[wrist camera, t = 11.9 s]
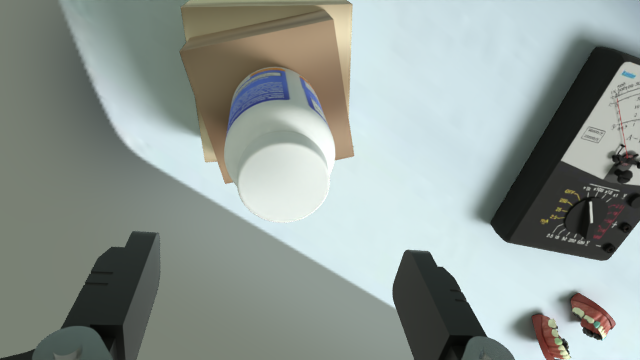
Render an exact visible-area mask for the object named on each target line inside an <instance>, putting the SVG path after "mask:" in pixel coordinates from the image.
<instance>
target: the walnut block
mask: <svg viewBox="0 0 640 360" xmlns="http://www.w3.org/2000/svg"><path fill="white" fill-rule="evenodd" d="M179 52H180V55H181V58H182V61H183V64H184V67H185V69H186V72H187V75H188V78H189V81H190V84H191V87H192V90H193V92H194V95H195V98H196V101H197V104H198V107H199V110H200V113H201V116H202V118H203V121H204V124H205V127H206V130H207V133H208V136H209V139H210V141H211V144H212V147H213V150H214V153H215V156H216V159H217V162H218V164H219V167H220V170H221V173H222V176H223V179H224V182H225V184H227V183H232V182H233V181H232V179H231V177H230V176H229V173H228V171H227V168H226V165H225V159H224V148H225V140H226V134H227V128H228V122H229V115H230V109H231V103H232V99H233V96H234V93H235V91H236V89H237V87H238V86H239V84H240V83H241V82H242V81H243V80H244V79H245V78H246V77H247V76H248V75H250V74H251V73H253V72H255V71H257V70H260V69H263V68H267V67H282V68H286V69H290V70H292V71H294V72H296V73H298V74H299V75H301V76H302V77H303V78H304V79H306V80H307V81H308V83H309V84H310V85H311V86H312V88H313V89H314V91H315V93H316V95H317V97H318V100H319V103H320V105H321V108H322V111H323V113H324V116H325V118H326V121H327V123H328V126H329V128H330V131H331V134H332V137H333V140H334V145H335V160H339V159H343V158H348V157H353V156H354V151H353V145H352V138H351V131H350V125H349V118H348V112H347V105H346V98H345V92H344V85H343V79H342V72H341V65H340V59H339V52H338V46H337V39H336V32H335V26H334V19H333V18H332V17H331V16H330V15H329V14H328V13H327V12H326V11H325V9H324V10H320V11H315V12H310V13H305V14H301V15H296V16H291V17H286V18H281V19H277V20H272V21H267V22H262V23H258V24H253V25H248V26H243V27H239V28H234V29H229V30H224V31H219V32H215V33H210V34H205V35H200V36H196V37H191V38H189V40H188V41H187V42H186V44H185V45H184V46H183V48H182V49H181V50H180V51H179Z"/></svg>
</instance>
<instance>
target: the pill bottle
mask: <svg viewBox="0 0 640 360" xmlns="http://www.w3.org/2000/svg"><path fill="white" fill-rule="evenodd" d="M224 159H225V165H226V168H227V171H228V173H229V176H230V177H231V179H232V181H233V182H234V183H235V185H236V186H237V188H238V192H239V196H240V198H241V200H242V202H243V203H244V205H245V206H246V207H247V208H248V209H249V210H250V211H251V212H252V213H253V214H255V215H257V216H258V217H260V218H262V219H265V220H268V221H271V222H278V223H285V222H293V221H297V220H300V219H303V218H305V217H307V216H309V215H310V214H312V213H313V212H314V211H316V210H317V209H318V208H319V207H320V206H321V204H322V203H323V201H324V200H325V198H326V196H327V194H328V191H329V186H330V173H331V171H332V169H333V166H334V162H335V145H334V140H333V137H332V134H331V131H330V128H329V126H328V123H327V121H326V118H325V116H324V113H323V111H322V108H321V105H320V103H319V100H318V97H317V95H316V93H315V91H314V89H313V88H312V86H311V85H310V84H309V83H308V81H307V80H306V79H304V78H303V77H302V76H301V75H299V74H298V73H296V72H294V71H292V70H290V69H286V68H282V67H267V68H263V69H260V70H257V71H255V72H253V73H251V74H250V75H248V76H247V77H246V78H245V79H244V80H243V81H242V82H241V83H240V84H239V86H238V87H237V89H236V91H235V93H234V96H233V99H232V103H231V109H230V115H229V122H228V128H227V134H226V140H225V148H224Z"/></svg>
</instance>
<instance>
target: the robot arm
mask: <svg viewBox="0 0 640 360" xmlns="http://www.w3.org/2000/svg"><path fill="white" fill-rule="evenodd" d="M159 280H160V236H159V233H155V232H140V231H133V232H132V233H131V235H130V237H129V239H128V242H127V244H126V246H125V248H124V247H111V248H110V249H108V250H107V251H106V252H105V253H103V254H102V255H101V256H100V257H99V258H98V259H97V261H96V263H95V265H94V267H93V269H92V270H91V274H89V276H88V278H87V280H86V282H85V285H84V286H83V288H82V290H81V291H80V293H79V295H78V297H77V299H76V301H75V303H74V305H73V307H72V308H71V310H70V312H69V315H68V316H67V318H66V320H65V322H64V324H63V326H62V327H61V329H60V330H58V331H55V332H53V333H52V334H50V335H49V336H47V337H46V338H44V339H43V340H42V341H41V342H40V343H39V344H38V346H37V347H36V349H33V350H31V351H28V352H25V353H21V354H18V355H13V356H9V357H5V358H1V359H0V360H136V359H137V356H138V352H139V349H140V346H141V343H142V339H143V336H144V333H145V330H146V326H147V323H148V320H149V317H150V313H151V310H152V307H153V304H154V300H155V297H156V294H157V290H158V286H159ZM393 301H394V304H395V307H396V309H397V312H398V315H399V318H400V320H401V323H402V326H403V329H404V332H405V334H406V337H407V340H408V343H409V346H410V349H411V352H412V354H413V357H414V360H515V359H514V357H513V355H512V354H511V353H510V351H509V350H508V349H507V348H506V347H504V346H503V345H502V344H501V343H499V342H497V341H496V340H493V339H491V338H488V337H487V336H486V334H485V332H484V330H483V328H482V327H481V325H480V323H479V321H478V319H477V318H476V316H475V314H474V312H473V311H472V309H471V307H470V305H469V303H468V302H466V298H465V296H464V294H463V293H462V292H461V289H460V287H459V285H458V284H457V282H456V280H455V278H454V277H453V276H452V275H451V274H450V273H449V272H448V271H446V270H445V269H444V268H443V267H437V265H436V263H435V261H434V259H433V257H432V255H431V253H430V252H428V251H418V250H406V251H405V252H404V254H403V257H402V260H401V263H400V266H399V268H398V271H397V274H396V277H395V280H394V283H393ZM555 360H559V359H555Z"/></svg>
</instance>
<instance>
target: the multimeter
mask: <svg viewBox="0 0 640 360" xmlns="http://www.w3.org/2000/svg"><path fill="white" fill-rule="evenodd" d="M639 221H640V59H639V58H637V57H634V56H631V55H628V54H625V53H623V52H620V51H617V50H614V49H610V48H605V47H596V48H595V49H594V50H593V51H592V53H591V55H590V56H589V58H588V60H587V61H586V63H585V65H584V66H583V68H582V70H581V71H580V73H579V75H578V76H577V78H576V80H575V81H574V83H573V85H572V86H571V88H570V90H569V91H568V93H567V95H566V96H565V98H564V100H563V101H562V103H561V105H560V106H559V108H558V110H557V111H556V113H555V115H554V116H553V118H552V120H551V122H550V123H549V125H548V127H547V128H546V130H545V132H544V133H543V135H542V137H541V138H540V140H539V142H538V143H537V145H536V147H535V148H534V150H533V152H532V153H531V155H530V157H529V158H528V160H527V162H526V163H525V165H524V167H523V168H522V170H521V172H520V174H519V175H518V177H517V179H516V180H515V182H514V184H513V185H512V187H511V189H510V190H509V192H508V194H507V195H506V197H505V199H504V200H503V202H502V204H501V205H500V207H499V209H498V210H497V212H496V214H495V215H494V217H493V219H492V220H491V225H492V227H493V228H494V230H495V232H496V233H497V234H498V235H499V236H500V237H501V238H502V239H503V240H504V241H506V242H507V243H513V244H518V245H523V246H528V247H533V248H538V249H543V250H549V251H554V252H559V253H564V254H569V255H574V256H579V257H585V258H590V259H595V260H600V261H603V260H608V259H609V258H610V257H611V256H612V255H613V254H614V252H615V251H616V250H617V249H618V247H619V246H620V245H621V244H622V242H623V241H624V240H625V239H626V237H627V236H628V235H629V233H630V232H631V231H632V230H633V228H634V227H635V226H636V225H637V223H638V222H639Z"/></svg>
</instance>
